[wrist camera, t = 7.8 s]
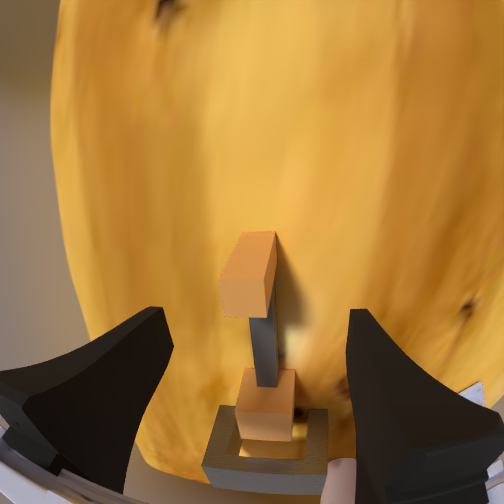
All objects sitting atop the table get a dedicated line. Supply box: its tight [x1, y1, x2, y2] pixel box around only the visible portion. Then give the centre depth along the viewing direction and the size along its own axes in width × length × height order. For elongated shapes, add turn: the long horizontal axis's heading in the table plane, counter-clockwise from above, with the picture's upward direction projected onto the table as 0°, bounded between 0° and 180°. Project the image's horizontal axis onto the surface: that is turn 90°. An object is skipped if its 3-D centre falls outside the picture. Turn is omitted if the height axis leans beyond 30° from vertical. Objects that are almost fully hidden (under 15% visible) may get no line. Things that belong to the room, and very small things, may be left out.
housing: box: [201, 405, 328, 495], centre depth 23 cm, size 5×10×7 cm, turn 95°
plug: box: [218, 231, 295, 441], centre depth 19 cm, size 16×4×6 cm, turn 5°
